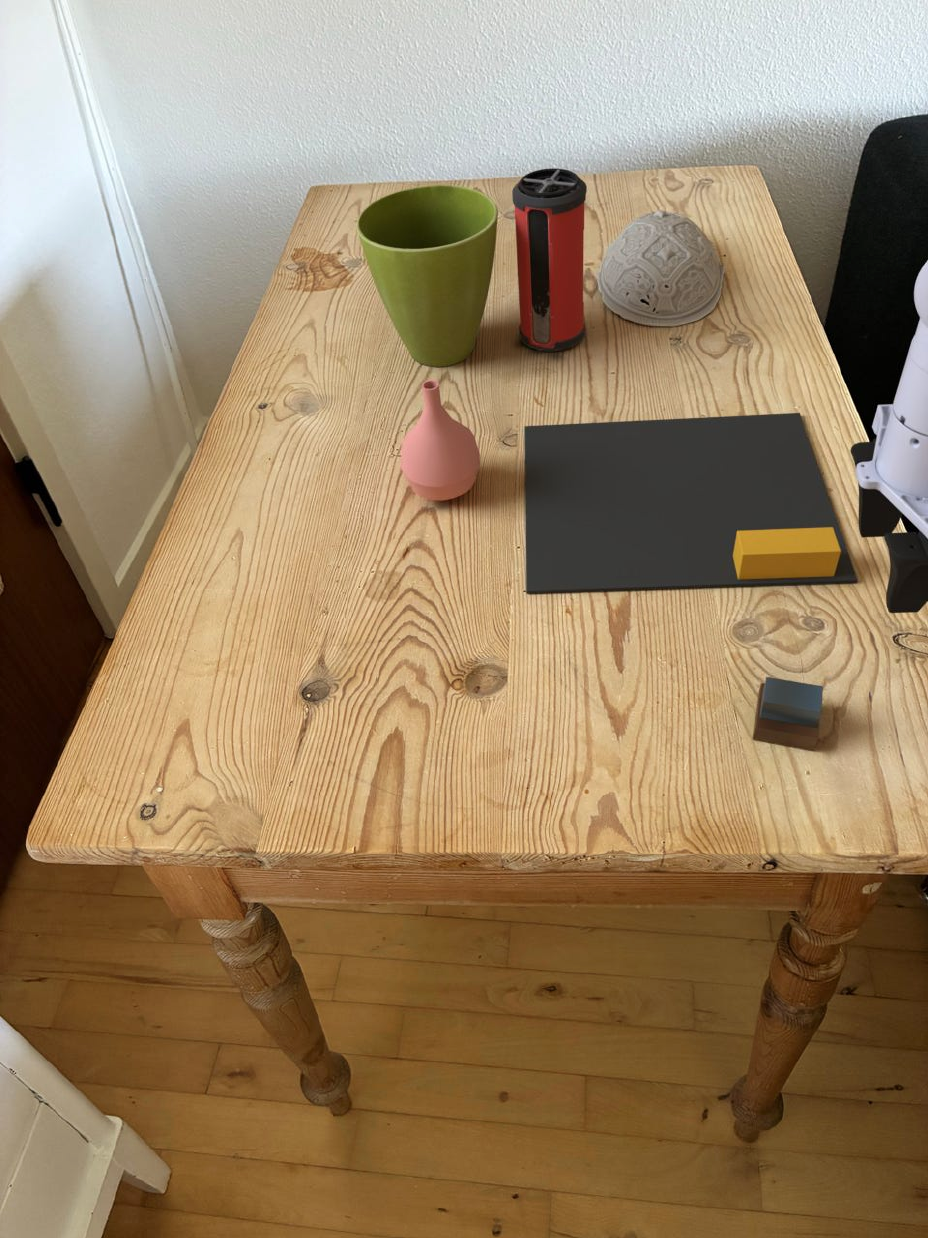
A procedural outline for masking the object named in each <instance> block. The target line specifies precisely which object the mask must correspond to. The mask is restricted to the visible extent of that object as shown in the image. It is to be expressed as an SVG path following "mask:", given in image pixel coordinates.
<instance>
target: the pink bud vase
mask: <svg viewBox="0 0 928 1238" xmlns="http://www.w3.org/2000/svg"><path fill="white" fill-rule="evenodd" d="M421 390H422V399H423V403H424V408H423V410H422V413H421V415H420V417H419V419H418V422H417V423H416V424H415V425H414V426H413V427H412V428H411V429H410V430H408V432H407V433H406V435H405V436H404V437H403V439H402V441H401V449H400V451H401V452H400V453H401V454H400V470H401V472H402V474H403V475H404V477H405V479H406V481H407V483H408V484H409V486H410V488H411V490H412V492H414V493H415V494H416V495H417V496H419V497H420V498H423V499H427V500H430V501H447V500H453V499H455V498H458V497H460V496H462V495H464V494H466V493H467V492H468V491H469V490H471V489H472V487H473V486H474V484H475V481H476V479H477V477H478V476H477V475H478V471H479V467H480V465H481V454H480V451H479V446H478V444H477V441H476V439H475V435H474V434H473V432H472V431H471V429H470V428H468V427H467V426H465V425H464V424H463V423H461V422H460V421H457V420H456V419H454V418H453V417H452V416H451V415H450V414H449V413H448V411H447V410H446V409H445V407H443V405H442V399H441V391H440V383H439V381H437V380H435V379H428V380H426V381H424V382H423V383H422V384H421Z"/></svg>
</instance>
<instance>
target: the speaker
mask: <svg viewBox="0 0 928 1238" xmlns="http://www.w3.org/2000/svg"><path fill="white" fill-rule="evenodd" d="M587 191H588V190H587V184H586V182H585V181H584V180H583V179H581V177H580V176H578V174H576V173H575V172H574V171H571V170H569V169H565V168H557V167H555V168H553V167H552V168H550V167H549V168H543V169H542V168H541V169H538V170H537V169H536V170H533V171H531V172H528V173H527V174H525V175H524V176H522V178H520V180H519V181H518V182H517V183H516V184H515V185H514V187H513V188H512V190H511V192H512V193H511V194H512V195H511V197H512V203H513V205H514V223H515V240H516V241H515V242H516V261H517V262H516V263H517V264H516V265H517V266H516V267H517V285H518V307H519V325H518V335H519V336H518V337H519V339H520V341H521V342H522V343H523V345H525V346H526V347H528V348H530V349H534V350H537V351H540V352H542V353H556V352H560V351H563V350H570V349H571V348H573V347H575V346H576V345H578V344H579V343H581V342H582V340H583V339H584V337H585V336H586V325H585V324H584V322H585V321H584V316H585V315H584V309H585V307H584V306H585V302H584V250H585V249H584V247H585V246H584V245H585V243H584V239H585V238H584V235H585V234H584V233H585V202H586V200H587V198H586V197H587Z"/></svg>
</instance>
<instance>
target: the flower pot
mask: <svg viewBox="0 0 928 1238" xmlns="http://www.w3.org/2000/svg"><path fill="white" fill-rule="evenodd" d="M498 209H499V208H498V206H497V203H495V201H494V200H493V199H492V198H491V197H490V196H489V195H487V194H486V193H484V192H482V191H479V190H477V189H474V188H471V187H466V186H462V185H451V184H433V185H432V184H431V185H422V186H415V187H409V188H405V189H401V190H397V191H395V192H391V193H389V194H387V195H384V196H382V197H380V198H378V199H376V200H375V201H372V203H370V204H368V205H367V206H366V207H365V208H364V209H362V211H361V212H360V214H359V215H358V217H357V219H356V225H355V226H356V231H357V234H358V237H359V241H360V245H361V248H362V251H363V253H364V257H365V260H366V263H367V266H368V269H369V272H370V275H371V277H372V279H373V283H374V286H375V288H376V289H377V292H378V295H379V297H380V299H381V301H382V303H383V306H384V308H385V310H386V312H387V314H388V317H389V318H390V320H391V322H392V324H393V326H394V328H395V330H396V332H397V334H398V335H399V338H400V339H401V341H402V343H403V344H404V346H405V348H406V349H407V351H408V353H409V354H410V355H411V357H412V359H413V360H414V361H415V362H416V363H419V364H421V365H423V366H427V367H435V368H437V367H439V368H440V367H441V368H442V367H448V366H452V365H456V364H458V363H461V362H462V361H464V360H466V359H467V358H468V357H469V356H470V355H471V353H472V352H473V349H474V347H475V343H476V341H477V338H478V335H479V331H480V329H481V328H480V327H481V325H482V322H483V321H482V320H483V317H484V312H485V309H486V305H487V300H488V297H489V290H490V286H491V281H492V274H493V268H494V267H493V266H494V261H495V260H494V259H495V253H496V245H497V244H496V242H497V232H498V231H497V230H498V219H499V217H498V216H499V210H498Z"/></svg>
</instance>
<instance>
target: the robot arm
mask: <svg viewBox="0 0 928 1238" xmlns="http://www.w3.org/2000/svg"><path fill="white" fill-rule="evenodd" d="M913 289H914V290H913V301H914V305H915V309H916V311H917V314H918V316H919V321H918V324H917V327H916V330H915V334H914V335H913V338H912V339H911V342H910V346H909V349H908V353H907V356H906V359H905V362H904V365H903V369H902V372H901V376H900V379H899V382H898V386H897V389H896V393H895V396H894V399H893V403H891V404H890V403H889V404H878V405H877V406H876V407H877V408H876V412H875V415H874V418H873V422H872V425H871V428H872V430H873V433H874V434H875V435H876V437H874V438H873V440H872V441H860V442H857V443H854V444H853V445H851V447H850V451H849V452H850V455H851V457H852V459H853V460H852V461H853V463H854V467H855V470H854V474H855V477H856V480H857V486H858V532H859V535H860V538H883V539H884V541H885V545H886V546H887V550H888V555H889V576H888V582H887V589H886V594H885V604H886V605H885V606H886V608H887V612H888V613H890V614H909V613H914V614H915V613H919V612H920V611H921V610H922V609H923V607H924V606H925V605H927V603H928V260H927V261H926V262H925V264H924V265H923V266H922V267H921V269H920V271H919V272H918V274H917V277H916V280H915V283H914V288H913ZM903 515H904V517H906V518H907V519H908V520H909V521H910V522H911V524H913V526H915V527H916V528H917V529H918V532H917V531H908V532H906V531H905V532H894V531H895V530H896V528H897V526H898V524H899V522H900V520H901V518H902V516H903Z"/></svg>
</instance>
